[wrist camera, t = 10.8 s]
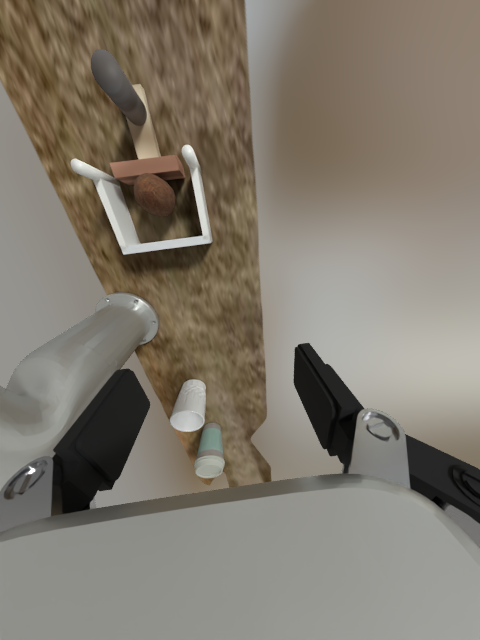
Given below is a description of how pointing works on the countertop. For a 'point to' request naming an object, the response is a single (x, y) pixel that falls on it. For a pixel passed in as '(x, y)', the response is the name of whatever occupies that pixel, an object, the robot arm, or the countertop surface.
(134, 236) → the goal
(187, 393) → the white cup
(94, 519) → the robot arm
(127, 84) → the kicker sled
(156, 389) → the countertop surface
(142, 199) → the coconut
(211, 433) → the coffee cup
